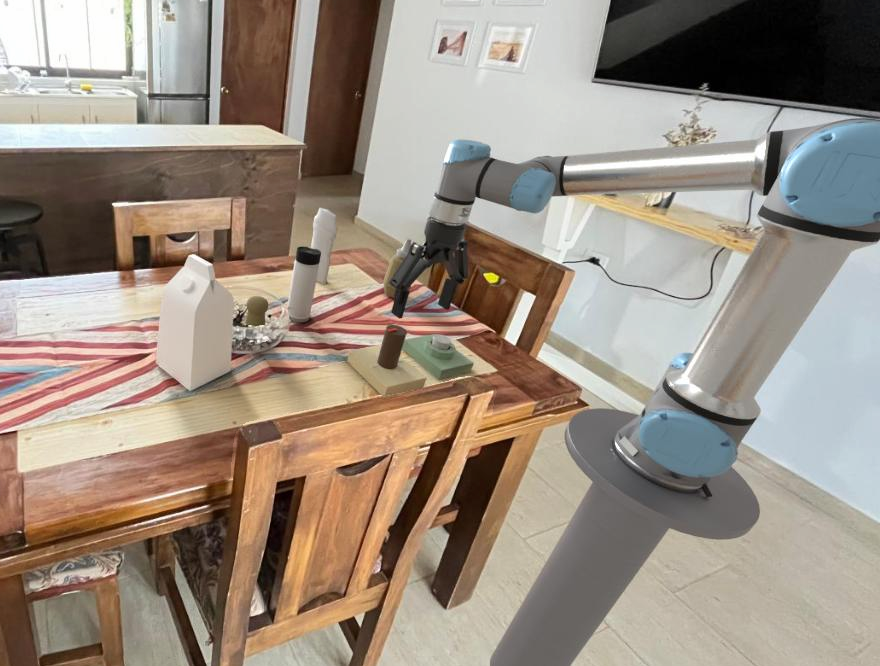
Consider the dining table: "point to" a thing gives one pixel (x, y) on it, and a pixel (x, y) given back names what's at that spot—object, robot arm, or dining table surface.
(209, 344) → the milk
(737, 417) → the robot arm
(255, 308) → the cork
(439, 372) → the green slab
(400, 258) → the squeeze bottle
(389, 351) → the brown upright cylinder
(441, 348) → the grey rounded lump
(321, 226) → the white rounded cylinder
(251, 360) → the dining table surface
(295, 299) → the travel mug
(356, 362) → the beige slab
